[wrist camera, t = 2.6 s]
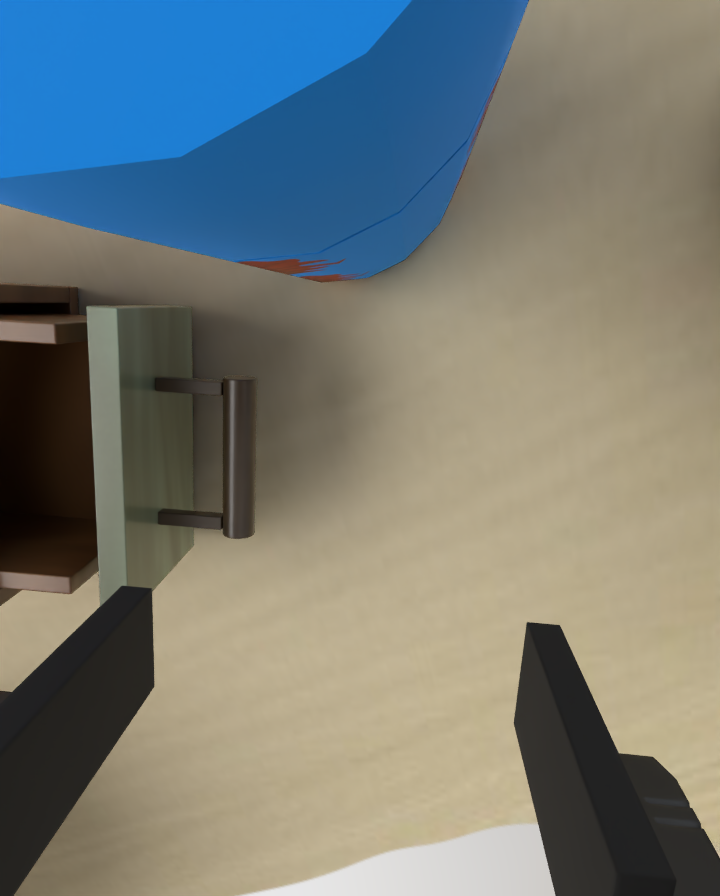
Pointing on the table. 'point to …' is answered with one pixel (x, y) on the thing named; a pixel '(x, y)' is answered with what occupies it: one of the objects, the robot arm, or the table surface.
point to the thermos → (249, 121)
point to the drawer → (110, 448)
